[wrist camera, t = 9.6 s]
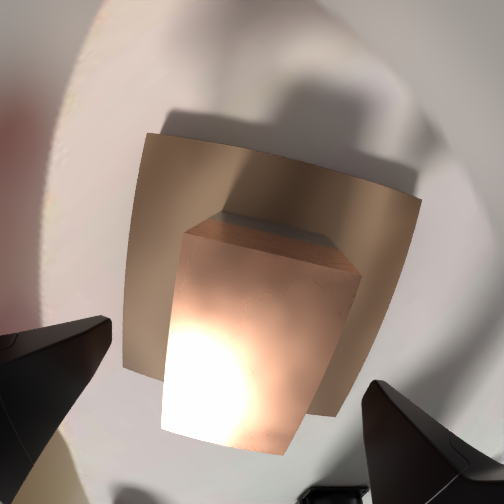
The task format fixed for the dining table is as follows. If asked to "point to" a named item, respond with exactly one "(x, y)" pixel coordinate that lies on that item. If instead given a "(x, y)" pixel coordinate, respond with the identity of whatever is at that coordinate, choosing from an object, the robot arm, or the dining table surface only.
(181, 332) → the peach block
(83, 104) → the dining table surface
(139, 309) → the walnut stand
